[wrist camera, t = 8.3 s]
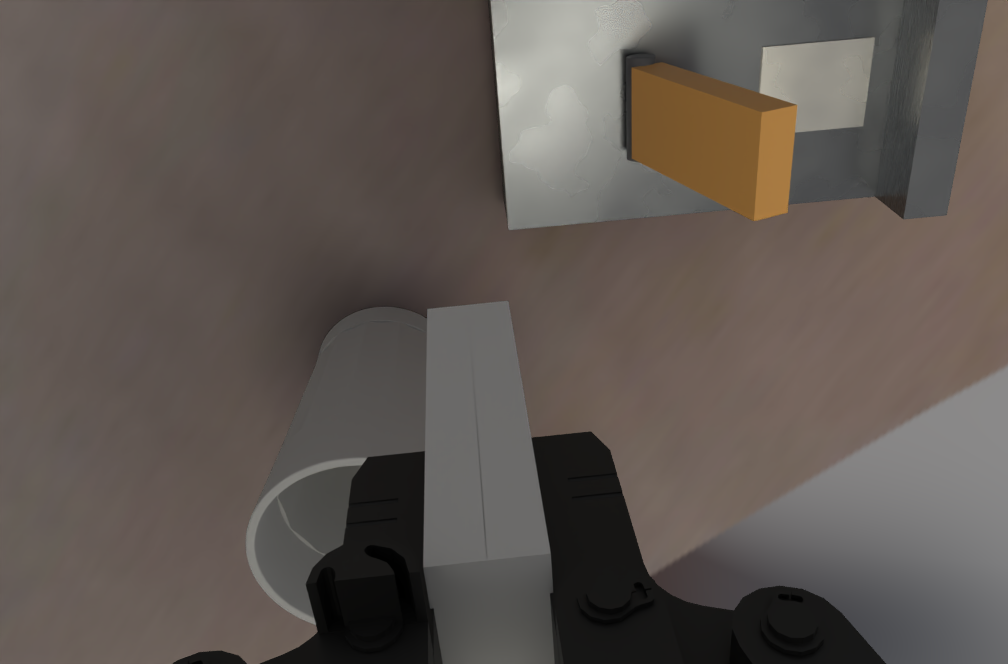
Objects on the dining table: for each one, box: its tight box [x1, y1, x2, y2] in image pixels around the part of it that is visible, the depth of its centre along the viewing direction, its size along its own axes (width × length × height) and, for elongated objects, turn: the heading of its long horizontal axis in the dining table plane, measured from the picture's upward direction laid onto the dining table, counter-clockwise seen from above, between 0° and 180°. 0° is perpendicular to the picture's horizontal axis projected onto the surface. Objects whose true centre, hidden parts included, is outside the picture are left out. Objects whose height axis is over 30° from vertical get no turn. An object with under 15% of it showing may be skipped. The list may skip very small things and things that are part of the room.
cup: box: [246, 307, 427, 625], centre depth 34 cm, size 8×8×12 cm
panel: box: [488, 0, 988, 230], centre depth 30 cm, size 16×15×5 cm
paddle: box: [626, 54, 797, 221], centre depth 28 cm, size 1×4×8 cm, turn 4°
